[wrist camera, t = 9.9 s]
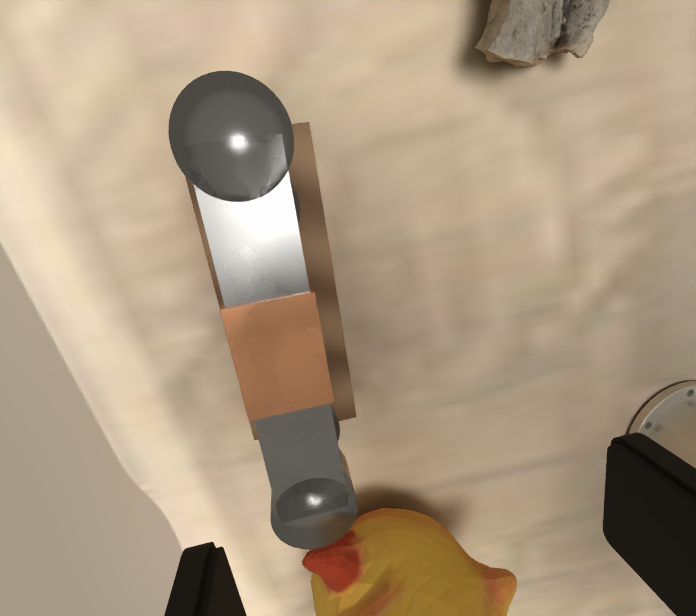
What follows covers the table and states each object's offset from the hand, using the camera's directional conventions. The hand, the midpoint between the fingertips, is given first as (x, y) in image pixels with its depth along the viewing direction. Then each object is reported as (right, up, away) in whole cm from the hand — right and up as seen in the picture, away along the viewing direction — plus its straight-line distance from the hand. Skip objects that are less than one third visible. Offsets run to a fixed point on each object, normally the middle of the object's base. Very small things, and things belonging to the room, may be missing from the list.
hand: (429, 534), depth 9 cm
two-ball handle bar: (-6, +4, +13) cm, 15 cm away
